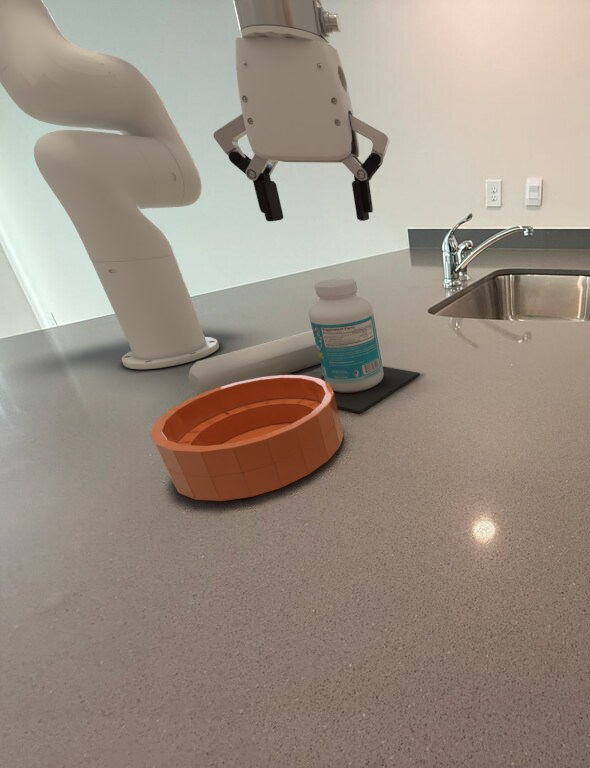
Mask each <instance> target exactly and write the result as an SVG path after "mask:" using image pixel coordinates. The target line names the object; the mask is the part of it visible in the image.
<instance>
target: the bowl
mask: <svg viewBox="0 0 590 768" xmlns="http://www.w3.org/2000/svg"><path fill="white" fill-rule="evenodd" d="M149 436H150V438H151V440H152V443H153V444H154V446H155V448H156V451H157V453H158V455H159V458H160V460H161V461H162V464H163V466H164V467H165V470H166V472H167V474H168V476H169V478H170V480H171V482H172V484H173V486H174V487H175V489H176V492H177V493H178V494H181V495H183V496H185V497H188V498H190V499H193V500H195V501H211V502H214V501H215V502H226V501H232V500H238V499H239V500H240V499H245V498H253V497H255V496H259V495H262V494H265V493H268V492H271V491H275V490H279V489H282V488H283V487H285V486H288V485H290V484H292V483H294V482H297V481H299V480H300V479H302V478H304V477H306V476H309V475H310V474H312V472H314V471H316V470H317V469H318V468H320V467H321V466H323V465H324V464H325V463H327V462H328V461H329V460H330V459H331V458H332V457H333V455H334V454H335V453H336V452H337V451H338V450H339V449H340V447H341V444H342V442H343V437H344V431H343V426H342V422H341V417H340V414H339V409H338V408H337V404H336V400H335V395H334V392H333V390H332V387H331V385H330V384H329V383H327V382H325V381H324V380H322V379H320V377H315V376H309V375H303V374H287V375H278V376H268V377H260V378H255V379H250V380H245V381H240V382H236V383H232V384H229V385H225V386H222V387H219V388H215V389H212V390H210V391H207V392H205V393H202V394H200V395H198V394H197V395H195V396H192V397H190V398H188V399H185V400H184V401H182V402H181V403H179V404H177V405H175V406H174V407H172V408H170V409H168V410H167V411H166V412H165V413H164V414H163V415H161V417H159V418H158V419H157V420H156V421H155V422H154V424H153V426H152V429H151V431H150V434H149Z"/></svg>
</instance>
